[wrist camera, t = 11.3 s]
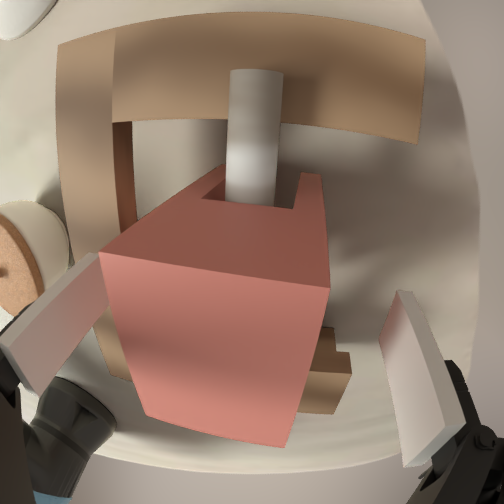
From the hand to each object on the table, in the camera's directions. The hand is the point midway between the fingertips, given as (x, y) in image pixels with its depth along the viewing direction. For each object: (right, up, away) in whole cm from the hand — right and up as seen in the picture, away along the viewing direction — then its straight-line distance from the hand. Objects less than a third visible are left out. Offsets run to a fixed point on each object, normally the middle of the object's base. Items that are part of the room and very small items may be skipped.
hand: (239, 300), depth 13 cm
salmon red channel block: (+1, +3, +7) cm, 8 cm away
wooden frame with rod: (0, +5, +10) cm, 11 cm away
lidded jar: (-20, +4, +14) cm, 25 cm away
